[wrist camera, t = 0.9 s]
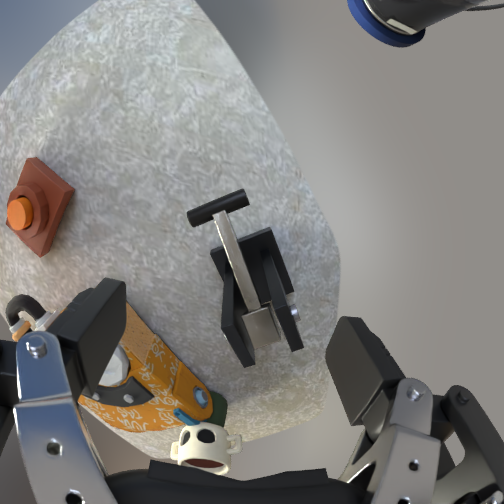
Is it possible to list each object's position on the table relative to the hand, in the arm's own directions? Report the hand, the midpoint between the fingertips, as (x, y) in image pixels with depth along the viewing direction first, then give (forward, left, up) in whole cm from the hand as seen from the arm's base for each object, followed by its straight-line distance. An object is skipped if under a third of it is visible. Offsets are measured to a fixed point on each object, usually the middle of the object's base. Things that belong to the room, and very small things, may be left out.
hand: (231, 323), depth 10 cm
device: (+28, -3, -21) cm, 35 cm away
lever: (+2, +3, -13) cm, 13 cm away
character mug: (+27, +15, -21) cm, 37 cm away
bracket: (+4, +6, -21) cm, 22 cm away
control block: (+14, -21, -21) cm, 33 cm away
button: (+14, -21, -17) cm, 31 cm away
